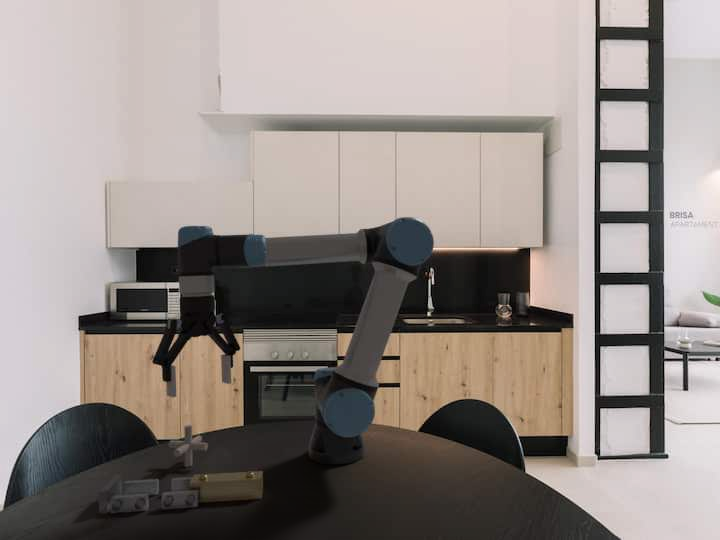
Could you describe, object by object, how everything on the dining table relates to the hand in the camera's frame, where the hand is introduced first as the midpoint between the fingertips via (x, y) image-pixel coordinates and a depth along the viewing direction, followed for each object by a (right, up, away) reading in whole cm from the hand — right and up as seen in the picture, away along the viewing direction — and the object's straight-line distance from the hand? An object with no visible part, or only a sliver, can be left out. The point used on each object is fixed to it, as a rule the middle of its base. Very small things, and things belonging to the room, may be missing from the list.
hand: (200, 389), depth 103 cm
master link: (+7, -23, -3) cm, 24 cm away
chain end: (-2, -23, -4) cm, 23 cm away
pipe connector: (-8, -23, +13) cm, 28 cm away
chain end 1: (-13, -23, -5) cm, 27 cm away
